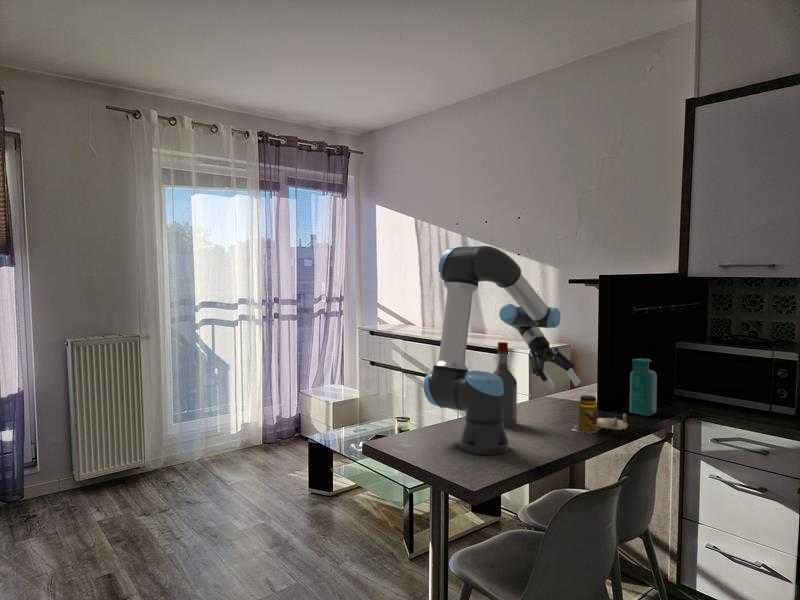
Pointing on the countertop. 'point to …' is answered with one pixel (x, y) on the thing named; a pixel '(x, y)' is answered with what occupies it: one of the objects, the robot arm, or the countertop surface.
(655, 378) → the teal bottle
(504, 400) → the liquor
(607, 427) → the flange base
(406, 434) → the countertop surface
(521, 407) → the countertop surface
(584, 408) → the condiment
